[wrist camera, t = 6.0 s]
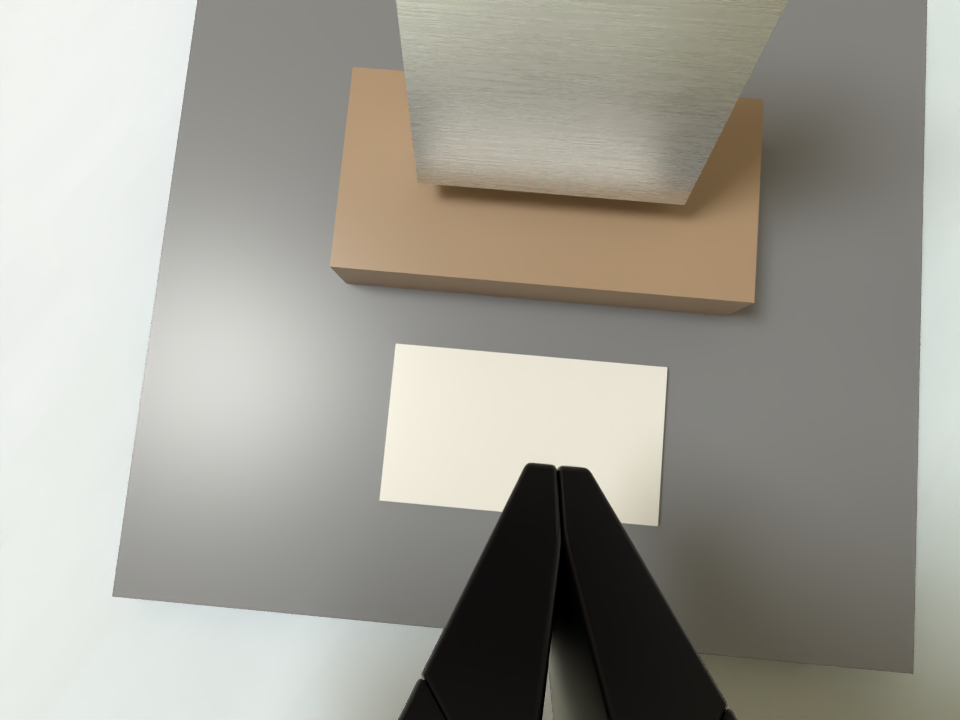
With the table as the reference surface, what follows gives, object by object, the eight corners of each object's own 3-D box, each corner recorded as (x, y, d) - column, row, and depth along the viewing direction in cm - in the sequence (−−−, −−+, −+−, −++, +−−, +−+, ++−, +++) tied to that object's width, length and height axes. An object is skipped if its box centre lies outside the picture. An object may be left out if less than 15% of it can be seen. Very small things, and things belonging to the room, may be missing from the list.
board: (888, 659, 17) (966, 704, 14) (133, 586, 18) (66, 616, 15) (904, 13, 19) (975, -58, 16) (220, -39, 19) (176, -117, 17)
